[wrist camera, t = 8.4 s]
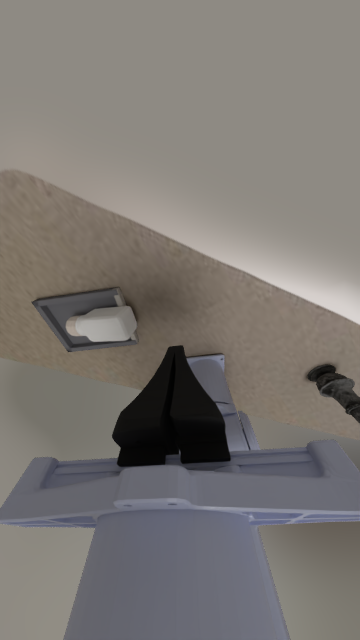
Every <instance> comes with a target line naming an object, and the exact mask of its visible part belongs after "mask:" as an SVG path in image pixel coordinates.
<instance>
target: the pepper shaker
mask: <svg viewBox="0 0 360 640" xmlns="http://www.w3.org/2000/svg"><path fill="white" fill-rule="evenodd" d="M136 328H137V322H136V319H135V317H134V314H133V311H132V309H131V307H130V306H121V307H110V308H100V309H94V310H92V311H90V312H89V313H87V314H86V315H80V316H73V317H70V318H69V319H68V320H67V322H66V329H67V332H68V333H69V334H70V335H72V336H87V337H88V338H89V340H91V341H93V342H103V341H125V340H128V339H129V338H130V337H131V335H132V334H133V332H134V331H135V330H136Z"/></svg>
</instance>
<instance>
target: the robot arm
mask: <svg viewBox="0 0 360 640" xmlns="http://www.w3.org/2000/svg"><path fill="white" fill-rule="evenodd" d="M221 358H222V359H221ZM238 413H239V417H240V420H239V417H238V414H237V411H236V408H235V405H234V403H233V400H232V397H231V394H230V391H229V388H228V385H227V382H226V379H225V375H224V355H223V354H219V355H210V356H200V357H190V358H186V356H185V352H184V347H183V346H182V345H180V346H172V347H169V348H168V350H167V352H166V355H165V357H164V359H163V361H162V363H161V365H160V366H159V368H158V370H157V371H156V373H155V375H154V376H153V378H152V379H151V380H150V382H149V383H148V384H147V386H146V387H145V388H144V389H143V390H142V392H141V393H140V394H139V395H138V396H137V397H136V398H135V399H134V400H133V401H132V402H131V403H130V404H129V405H128V406H127V407H126V408H125V409H124V410H123V411H122V412H121V413H120V415H119V418H118V420H117V422H116V425H115V428H114V431H113V434H112V438H113V439H114V441H115V442H116V443H117V444H118V445H119V446H120V447H121V450H120V453H119V457H118V458H110V459H94V460H93V459H92V460H76V461H58V460H57V459H55V458H52V457H40V458H34V459H33V460H32V461H31V463H30V464H29V466H28V467H27V469H26V470H25V472H24V474H23V475H22V477H21V478H20V480H19V481H18V483H17V484H16V486H15V487H14V489H13V490H12V492H11V493H10V495H9V497H8V498H7V499H6V501H5V502H4V504H3V505H2V507H1V508H0V524H7V525H14V526H21V527H83V528H86V527H87V528H88V527H89V528H95V532H94V535H93V539H92V542H91V546H90V549H89V552H88V556H87V559H86V563H85V566H84V570H83V573H82V577H81V580H80V584H79V587H78V591H77V594H76V597H75V601H74V604H73V608H72V611H71V615H70V618H69V622H68V626H67V629H66V632H65V635H64V639H63V640H290V637H289V633H288V630H287V626H286V623H285V620H284V616H283V612H282V609H281V606H280V602H279V598H278V595H277V591H276V588H275V584H274V581H273V577H272V574H271V570H270V567H269V563H268V560H267V556H266V553H265V549H264V546H263V543H262V539H261V535H260V532H259V528H258V525H275V524H294V523H313V522H334V521H335V522H337V521H360V471H359V470H358V469H357V467H356V466H355V465H354V464H353V462H352V461H351V460H350V458H349V457H348V456H347V454H346V453H345V452H344V450H343V449H342V448H341V447H340V445H339V444H338V443H337V441H335V440H318V441H312V442H309V443H308V444H307V447H299V448H281V449H264V450H260V447H259V445H258V442H257V439H256V436H255V434H254V431H253V428H252V426H251V423H250V421H249V418H248V416H247V415H246V414H245V413H243V412H242V411H238ZM240 421H241V423H240ZM241 424H242V426H241ZM242 427H243V429H242Z"/></svg>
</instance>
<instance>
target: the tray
mask: <svg viewBox="0 0 360 640" xmlns="http://www.w3.org/2000/svg"><path fill="white" fill-rule="evenodd" d="M32 304H33V305H34V306H35V308H36V309H37V310H38V312H39V313H40V315H41V316H42V317H43V319H44V320H45V321H46V323H47V324H48V325H49V327H50V328H51V329H52V331H53V332H54V334H55V335H56V336H57V338H58V339H59V340H60V342H61V343H62V344H63V346H64V347H65V348H66V350H67V351H68V352H74V351H82V350H91V349H100V348H109V347H118V346H126V345H135V344H138V342H139V338H138V335H137V333H136V330H135V331H134V332H133V334H132V335H131V337H130V338H129V339H128V340H125V341H103V342H93V341H91V340H89V338H88V337H87V336H72V335H70V334H69V333H68V332H67V329H66V322H67V320H68V319H69V318H70V317H73V316H80V315H86V314H87V313H89V312H90V311H92V310H94V309H100V308H110V307H121V306H126V303H125V300H124V298H123V295H122V292H121V290H120V287H117V288H110V289H103V290H96V291H89V292H83V293H76V294H69V295H62V296H55V297H48V298H41V299H37V300H35V301H33V302H32Z"/></svg>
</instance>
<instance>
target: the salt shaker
mask: <svg viewBox="0 0 360 640" xmlns="http://www.w3.org/2000/svg"><path fill="white" fill-rule="evenodd" d="M335 370H336V369H335V367H334V366H332V365H322V366H319V367H316V368H314V369H313V370H312V371H310V373H309V374H308V379H309V380H310V381H315V382H317V383H316V385H317V387H318V390H319V391H320V394H321V395H322V396H324V397H333V398H334V399H335V400H337V401H338V402H339V403H340V404H341V405H342V406H343V407H344V408H345V409H346V413H347V414H349V415H352V416H353V417H354V418H355V419H356V420H357V421H358V422H359V423H360V397H358V396H357V395H356V394H355V392H354V391H353V390H352V388H353V387H354V385H355V383H354V381H353V380H352V379H349V378H347V377H345V376H343V375H341V374H338V373H335Z"/></svg>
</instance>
